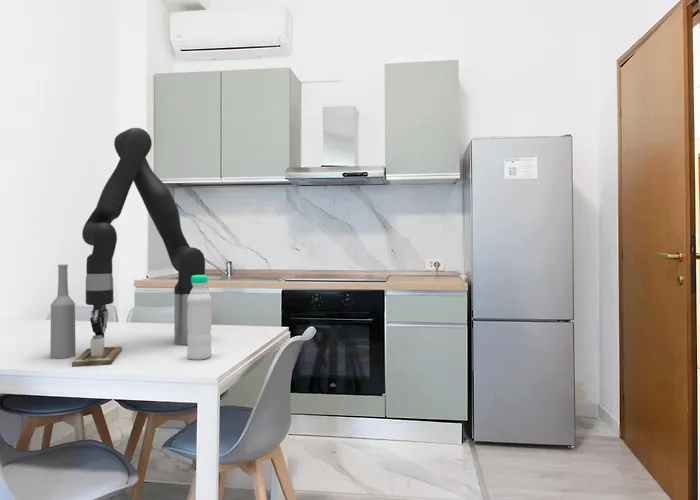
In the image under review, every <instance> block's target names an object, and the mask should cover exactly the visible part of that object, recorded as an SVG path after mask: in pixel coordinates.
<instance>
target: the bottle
mask: <svg viewBox="0 0 700 500" xmlns="http://www.w3.org/2000/svg"><path fill="white" fill-rule="evenodd" d="M68 266H69V265H68V264H57V272H58V273H57V274H58V275H57V276H58V277H57V278H58V280H57V282H58V283H57V284H58V285H57V296H56V298H55V299H54V300H53V301H52V302H51V304H50V358H51V359H54V358H55V359H58V360H59V359H67V358H72V357H75V356H76V302H74V300H73V299H72V298H71V296H70V295H69V286H68V284H69V282H68V280H69V279H68Z"/></svg>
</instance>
